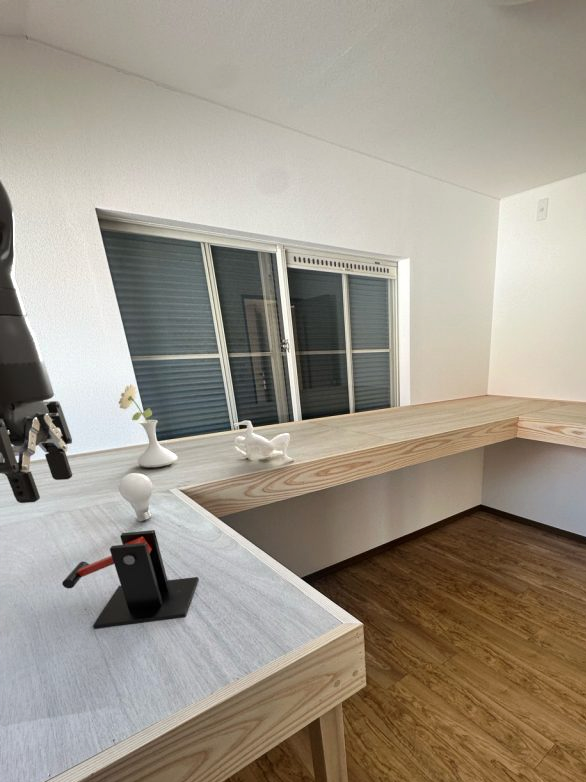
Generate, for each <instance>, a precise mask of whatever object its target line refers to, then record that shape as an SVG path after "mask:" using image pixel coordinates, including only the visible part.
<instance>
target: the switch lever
mask: <svg viewBox="0 0 586 782" xmlns="http://www.w3.org/2000/svg"><path fill="white" fill-rule="evenodd" d="M135 543H147V542H146V540H145V539H144V537H143V536H142V537H140V538H137V539H135V540H133V541H130V542H128V543H125V544H135ZM125 544H124V545H125ZM147 547H148V550H149V553H150V552H151V550H152V548H151V547H150V546H149V544H148V543H147ZM113 565H114V561H113V558H112V555H109V556H106V557H104V558H102V559H100V560H97V561H95V562H92V563H90V564H89V563H88V562H87V561H80V562H79V563H78V564H77V565H76V566H75V567H74V568H73V570H71V572H70V573H69V574H68V575H67V576H66V578H65V579H64V580H62V586H63V587H64V588H65V589H73V588H74V587H75V586H76V585H77V584H78V582H79V581H80V580H81V578H83V577H85V576H88V575H90V574H93V573H95V572H98V571H100V570H102V569H105V568H107V567H110V566H113Z"/></svg>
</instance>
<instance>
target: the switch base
mask: <svg viewBox="0 0 586 782" xmlns="http://www.w3.org/2000/svg"><path fill="white" fill-rule="evenodd" d="M142 536H143V537H144V539H145V540H146V542H147V543H148V544H149V546H150V547H151V548H152V550H151V552H150V553H149V550H148V547H147V543H135V544H125V543H128V542H130V541H133V540H135V539H137V538H140V537H142ZM119 537H120V540H121V544H117V545H116V544H115V545H111V546H110V548H109V552H110V556H112V558H113V561H114V564H113V565H114V567H115V571H116V574H117V578H118V580H119V584H120V585H118V586H117V588H116V589H115V591H114V593H113V594H112V595H111V597H110V598H109V600H108V602H107V603H106V605H105V606H104V607H103V609H102V610H101V612H100V614H99V615H98V617H97V619H96V620H95V621H94V623H93V624H92V627H93V630H98V629H104V628H105V629H106V628H113V627H119V626H121V627H122V626H127V625H128V626H129V625H134V624H135V625H137V624H143V623H152V622H159V621H165V620H173V619H182V618H186V617H187V614H188V612H189V609H190V607H191V603H192V601H193V597H194V595H195V593H196V590H197V587H198V584H199V576H194V577H185V578H176V579H175V578H174V579H168V577H167V572H166V569H165V568H166V567H165V566H164V562H163V561H164V560H163V557H162V553H161V550H160V546H159V542H158V537H157V534H156V530H155V529H150V530H140V531H139V530H138V531H129V532H122V533H121V534H120V535H119ZM124 544H125V545H124Z"/></svg>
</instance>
